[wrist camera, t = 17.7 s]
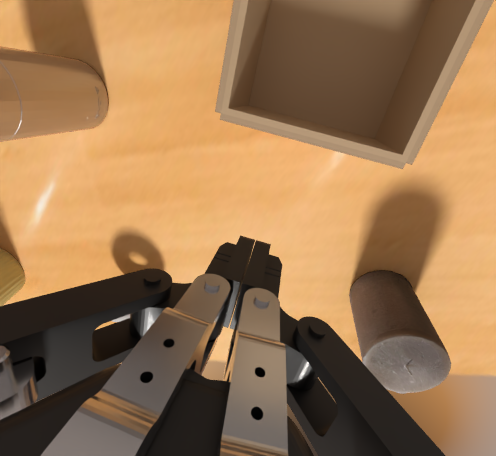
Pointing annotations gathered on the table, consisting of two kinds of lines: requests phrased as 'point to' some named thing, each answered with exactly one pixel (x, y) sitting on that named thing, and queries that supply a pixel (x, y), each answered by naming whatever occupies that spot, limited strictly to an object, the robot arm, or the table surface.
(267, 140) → the table surface
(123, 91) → the table surface
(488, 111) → the table surface
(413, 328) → the pillar candle
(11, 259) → the potted cactus
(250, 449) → the robot arm
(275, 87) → the carton
